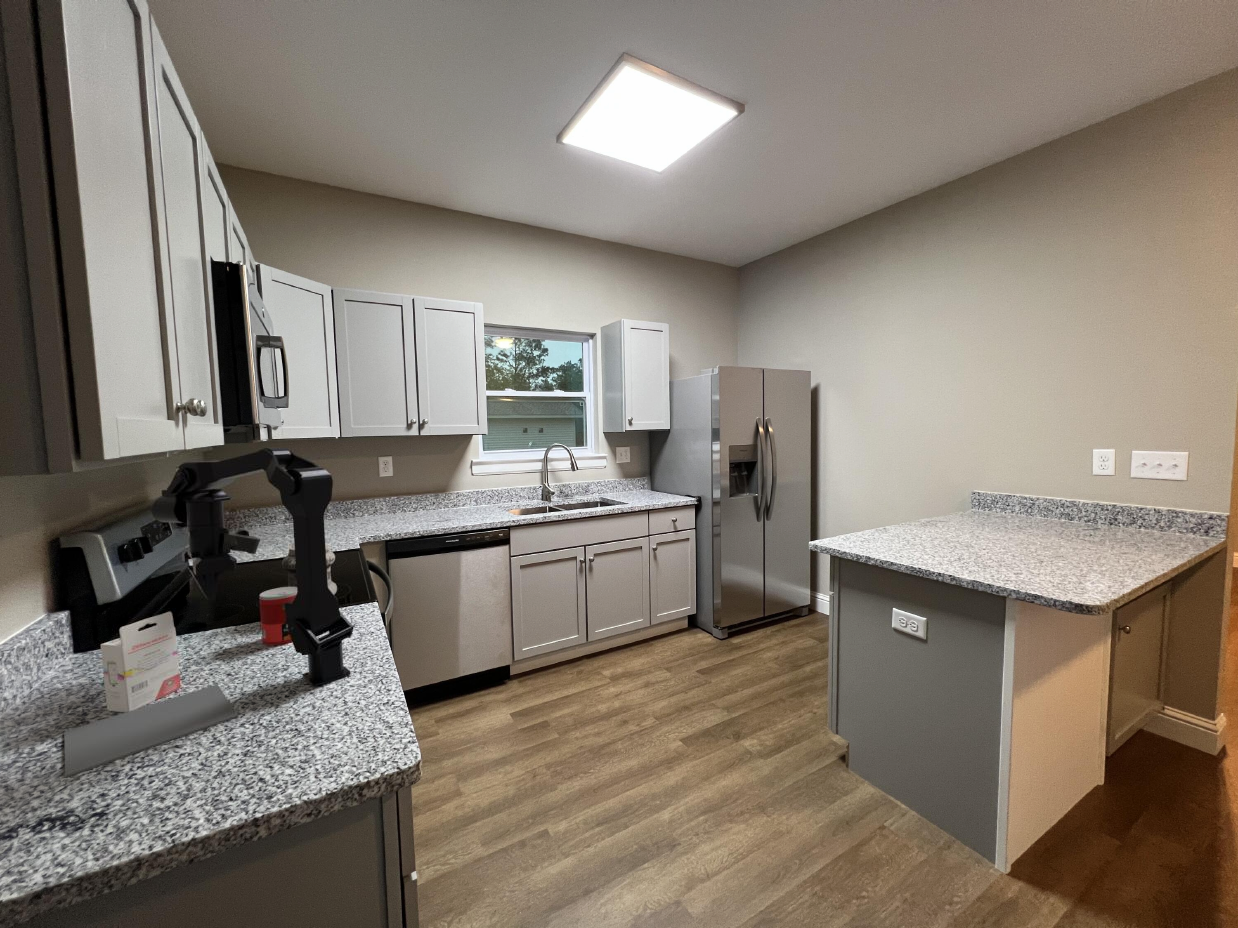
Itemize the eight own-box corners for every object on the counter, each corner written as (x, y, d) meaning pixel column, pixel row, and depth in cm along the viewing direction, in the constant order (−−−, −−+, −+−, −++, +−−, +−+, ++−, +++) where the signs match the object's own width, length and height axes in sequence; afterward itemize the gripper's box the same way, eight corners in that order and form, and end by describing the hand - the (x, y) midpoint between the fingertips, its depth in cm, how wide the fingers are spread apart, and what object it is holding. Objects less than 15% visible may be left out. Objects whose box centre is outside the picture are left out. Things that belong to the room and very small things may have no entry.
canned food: (289, 645, 110) (285, 596, 109) (253, 646, 110) (249, 597, 110) (311, 631, 118) (308, 586, 117) (277, 632, 118) (274, 586, 117)
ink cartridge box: (160, 686, 93) (154, 608, 92) (181, 688, 92) (175, 610, 91) (104, 711, 85) (97, 626, 84) (127, 714, 84) (119, 628, 83)
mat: (238, 716, 82) (237, 714, 82) (65, 777, 68) (65, 775, 68) (217, 685, 93) (217, 684, 93) (64, 732, 78) (64, 731, 78)
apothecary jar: (330, 618, 127) (326, 548, 125) (276, 624, 123) (271, 552, 122) (343, 603, 138) (339, 538, 137) (294, 608, 135) (289, 542, 134)
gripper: (266, 522, 100) (270, 599, 101) (244, 513, 113) (249, 582, 113) (193, 531, 92) (199, 614, 93) (179, 520, 104) (184, 594, 105)
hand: (211, 599), depth 101 cm, fingers closed
